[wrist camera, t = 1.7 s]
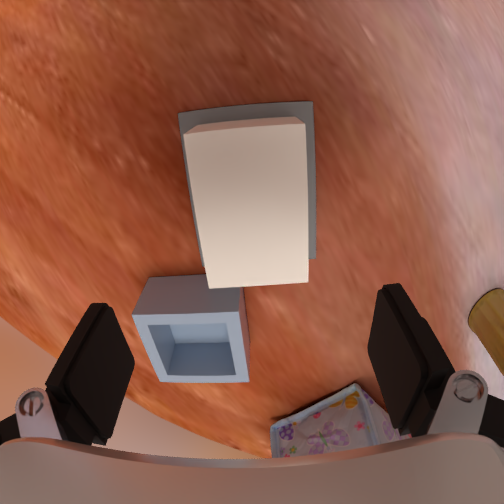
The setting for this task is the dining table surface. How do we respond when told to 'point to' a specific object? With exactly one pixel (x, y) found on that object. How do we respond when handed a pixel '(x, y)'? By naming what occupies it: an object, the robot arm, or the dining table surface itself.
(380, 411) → the lunch bag
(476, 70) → the dining table surface
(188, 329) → the open box
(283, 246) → the lid
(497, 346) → the vase
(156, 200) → the dining table surface
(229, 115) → the mat
